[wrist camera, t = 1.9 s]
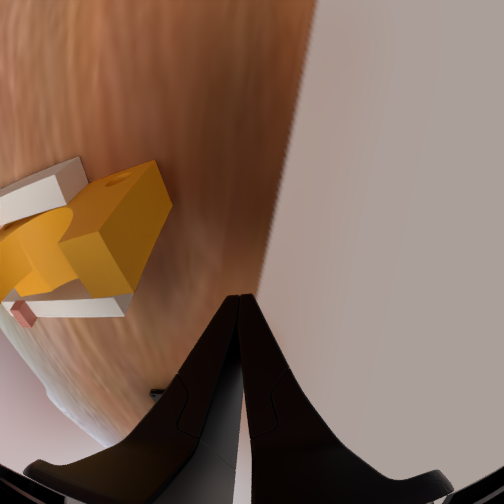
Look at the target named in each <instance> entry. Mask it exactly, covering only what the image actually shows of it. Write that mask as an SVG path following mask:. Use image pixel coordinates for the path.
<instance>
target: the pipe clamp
mask: <svg viewBox="0 0 504 504" xmlns="http://www.w3.org/2000/svg"><path fill="white" fill-rule="evenodd" d="M172 206H173V205H172V203H171V200H170V198H169V195H168V192H167V190H166V187H165V185H164V182H163V179H162V177H161V174H160V172H159V169H158V166H157V164H156V161H155V160H153V161H150V162H147V163H144V164H141V165H138V166H135V167H132V168H129V169H126V170H123V171H120V172H118V173H115V174H112V175H109V176H107V177H104V178H101V179H99V180H96V181H94V182H91V183H89V184H87V185H86V186H85V187H84V188H83V189H82V190H81V191H80V192H79V193H78V194H77V195H76V196H75V197H74V198H73V199H72V200H71V201H70V202H69V203H68V204H67V205H64V206H61V207H57V208H54V209H50V210H47V211H44V212H40V213H37V214H34V215H31V216H28V217H24V218H21V219H18V220H15V221H12V222H9V223H7V224H5V225H4V227H3V228H2V229H1V230H0V304H1V302H2V301H3V299H4V298H5V297H6V296H7V295H8V293H9V292H10V291H11V290H12V289H13V288H15V290H16V291H17V292H18V294H19V295H20V296H21V297H23V296H29V295H35V294H40V293H46V292H51V291H53V290H54V289H56V288H57V287H59V286H61V285H63V284H65V283H67V282H69V281H72V280H75V279H78V278H79V279H80V281H81V282H82V284H83V285H84V286H85V288H86V289H87V291H88V292H89V294H90V295H91V296H92V298H93V299H95V298H102V297H109V296H116V295H123V294H130V293H134V292H135V290H136V287H137V285H138V282H139V280H140V277H141V275H142V273H143V270H144V268H145V265H146V263H147V261H148V258H149V256H150V254H151V251H152V249H153V247H154V245H155V242H156V240H157V238H158V236H159V234H160V231H161V229H162V227H163V225H164V223H165V221H166V219H167V216H168V214H169V212H170V210H171V208H172Z"/></svg>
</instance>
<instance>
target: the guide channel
mask: <svg viewBox="0 0 504 504" xmlns="http://www.w3.org/2000/svg"><path fill="white" fill-rule="evenodd" d="M88 183H89V182H88V180H87V177H86V174H85V171H84V168H83V166H82V163H81V160H80V157H79V156H78V157H75V158H73V159H70V160H67V161H64V162H62V163H59V164H57V165H54V166H52V167H49V168H47V169H44V170H42V171H39V172H37V173H35V174H32V175H30V176H28V177H25V178H23V179H21V180H19V181H17V182H14V183H12V184H10V185H8V186H6V187H4V188H2V189H0V226H1V225H4V224H7V223H9V222H12V221H15V220H18V219H21V218H24V217H28V216H31V215H34V214H37V213H40V212H44V211H47V210H50V209H54V208H57V207H61V206H64V205H67V204H68V203H69V202H70V201H71V200H72V199H73V198H74V197H75V196H76V195H77V194H78V193H79V192H80V191H81V190H82V189H83V188H84V187H85V186H86V185H87V184H88ZM133 295H134V293H130V294H123V295H116V296H109V297H102V298H95V299H93V298H92V296H91V295H90V294H89V292H88V291H87V289H86V288H85V286H84V285H83V284H82V282H81V281H80V279H79V278H78V279H75V280H72V281H69V282H67V283H65V284H63V285H61V286H59V287H57V288H56V289H54V290H53V291H51V292H46V293H40V294H35V295H29V296H23V297H21V296H20V295H19V294H18V292H17V291H16V290H15V288H13V289H12V290H11V291H10V292H9V293H8V295H7V296H6V297H5V298H4V299H3V301H2V304H3V305H4V307H5V308H6V309H7V311H8V312H9V313H10V315H11V316H14V317H15V318H16V319H17V320H18V322H19V323H20V324H21V325H22V327H28V328H32V326H33V325H34V323H35V321H36V319H37V317H125V315H126V313H127V310H128V307H129V305H130V302H131V300H132V297H133Z"/></svg>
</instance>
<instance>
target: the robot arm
mask: <svg viewBox="0 0 504 504" xmlns="http://www.w3.org/2000/svg"><path fill="white" fill-rule="evenodd" d="M243 388H244V393H245V402H246V411H247V419H248V427H249V435H250V439H251V440H250V443H251V454H252V486H251V488H252V490H251V504H434V502H433V501H435V500H437V499H439V498H442V497H444V496H446V495H447V497H446V498H445V500H444V502H443V503H442V504H504V466H503V467H501V468H499V469H498V470H496V471H494V472H492V473H491V474H489V475H487V476H485V477H484V478H482V479H480V480H478V481H476V482H474V483H472V484H470V485H468V486H466V487H464V488H462V489H460V490H458V491H456V492H454V493H451V492H453V491H454V488H453V486H452V484H451V483H450V482H449V480H448V479H447V478H446V477H445V476H444V475H443V474H442V472H441V471H440V470H433V471H430V472H427V473H423V474H421V475H418V476H415V477H412V478H409V479H404V480H393V479H389V478H387V477H386V476H384V475H382V474H381V473H379V472H378V471H377V470H375V469H374V468H373V467H371V466H370V465H369V464H367V463H366V462H365V461H363V460H362V459H361V458H360V457H358V456H357V455H356V454H354V453H353V452H352V451H351V450H349V449H348V448H347V447H346V446H345V445H344V444H343V443H342V442H341V441H340V440H339V439H338V438H337V437H336V436H335V434H334V433H333V432H332V431H331V429H330V428H329V427H328V425H327V424H326V423H325V422H324V420H323V419H322V418H321V416H320V415H319V414H318V412H317V411H316V410H315V408H314V407H313V405H312V404H311V403H310V401H309V400H308V398H307V397H306V395H305V394H304V392H303V391H302V389H301V387H300V386H299V384H298V382H297V380H296V379H295V377H294V375H293V373H292V371H291V369H290V368H289V365H288V363H287V361H286V359H285V357H284V355H283V354H282V351H281V349H280V347H279V345H278V343H277V341H276V340H275V338H274V336H273V334H272V332H271V330H270V328H269V326H268V324H267V322H266V320H265V318H264V316H263V314H262V312H261V309H260V307H259V305H258V303H257V301H256V299H255V297H254V295H253V294H251V293H250V294H241V295H240V296H239V295H229V296H227V297H226V298H225V300H224V301H223V303H222V304H221V306H220V308H219V309H218V311H217V312H216V314H215V315H214V317H213V318H212V320H211V321H210V323H209V325H208V326H207V328H206V329H205V331H204V332H203V334H202V335H201V337H200V338H199V340H198V342H197V343H196V345H195V346H194V348H193V349H192V351H191V352H190V354H189V355H188V357H187V358H186V360H185V362H184V363H183V365H182V366H181V368H180V369H179V371H178V374H176V375H175V377H174V378H173V380H172V381H171V383H170V384H169V386H168V387H167V389H166V390H165V391H150V394H149V395H150V396H151V397H152V398H153V400H154V401H155V402H156V403H155V404H154V406H153V407H152V408H151V409H150V410H149V412H148V413H147V414H146V415H145V416H144V418H143V419H142V420H141V421H140V422H139V423H138V425H137V426H136V427H135V428H134V429H133V430H132V432H131V433H130V434H129V435H128V436H127V437H126V438H125V439H123V440H122V441H121V442H119V443H118V444H116V445H114V446H112V447H110V448H107V449H105V450H103V451H101V452H98V453H96V454H94V455H91V456H89V457H86V458H84V459H81V460H79V461H76V462H74V463H70V464H67V465H53V464H50V463H48V462H46V461H43V460H41V459H38V460H36V461H35V462H33V463H31V464H30V465H28V466H27V467H26V468H25V470H24V471H23V474H24V475H25V476H27V477H29V478H31V479H32V480H31V479H29V478H27V477H25V476H23V475H21V474H19V473H17V472H15V471H13V470H11V469H9V468H7V467H5V466H3V465H1V464H0V504H232V503H233V494H234V484H235V474H236V471H235V470H236V463H237V452H238V442H239V431H240V420H241V409H242V399H243ZM33 480H34V481H33ZM35 481H36V482H35ZM56 491H57V492H56ZM58 492H59V493H58ZM450 493H451V494H450ZM448 494H449V495H448Z"/></svg>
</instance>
